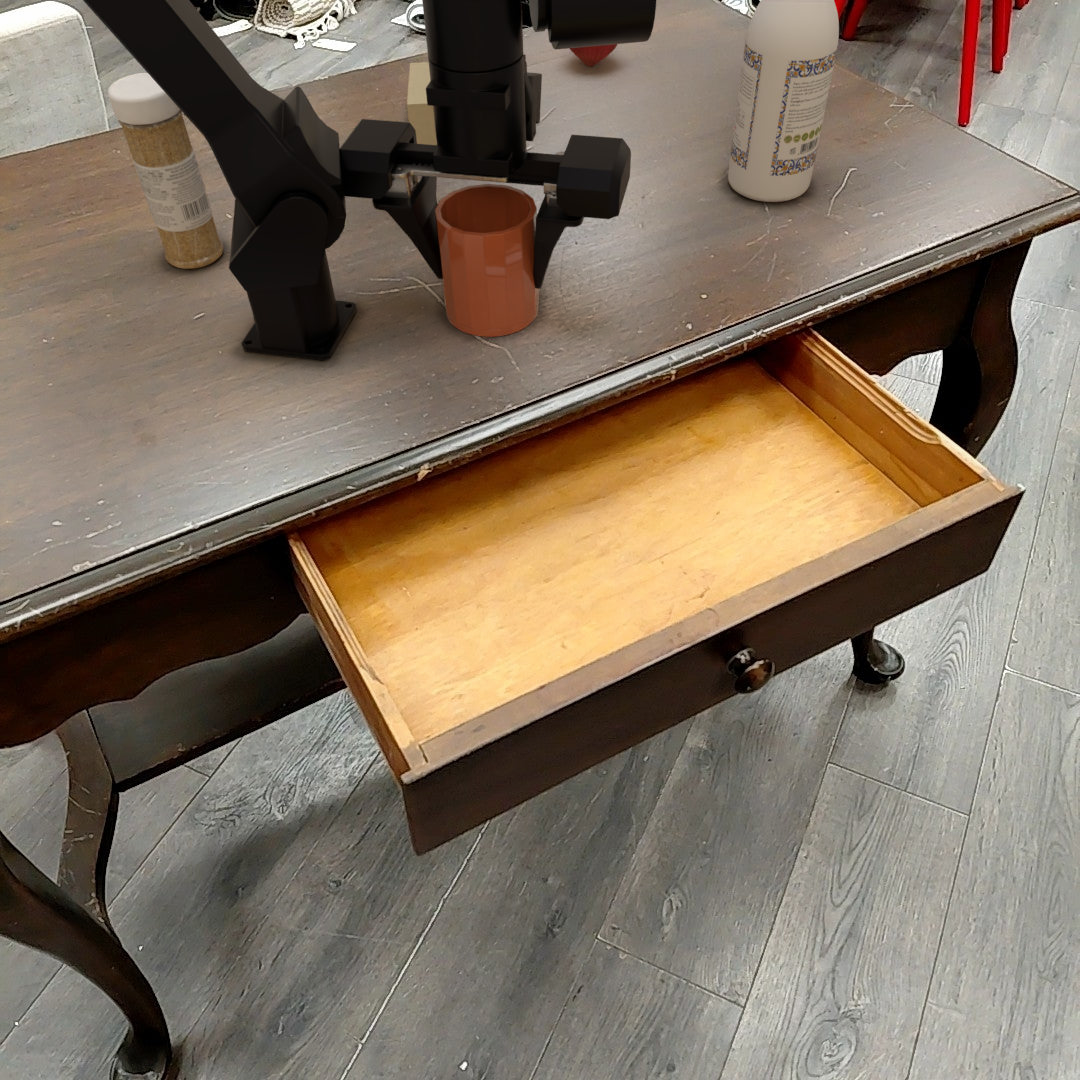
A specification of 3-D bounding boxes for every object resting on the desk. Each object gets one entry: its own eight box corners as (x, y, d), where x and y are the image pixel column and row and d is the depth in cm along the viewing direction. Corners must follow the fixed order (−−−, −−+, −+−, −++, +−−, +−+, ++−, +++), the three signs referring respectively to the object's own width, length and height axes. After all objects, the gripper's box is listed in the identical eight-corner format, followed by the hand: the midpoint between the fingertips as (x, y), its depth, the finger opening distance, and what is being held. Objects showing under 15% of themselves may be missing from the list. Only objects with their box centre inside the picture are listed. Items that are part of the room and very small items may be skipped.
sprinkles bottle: (208, 234, 79) (157, 64, 69) (234, 257, 77) (185, 84, 67) (156, 254, 77) (95, 82, 67) (181, 278, 75) (122, 103, 65)
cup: (527, 341, 68) (524, 239, 62) (435, 331, 69) (423, 230, 64) (546, 288, 73) (544, 188, 67) (459, 279, 74) (450, 180, 68)
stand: (510, 143, 89) (508, 99, 86) (412, 148, 88) (406, 104, 86) (506, 100, 95) (504, 58, 92) (414, 105, 95) (409, 62, 92)
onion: (627, 59, 101) (631, -26, 95) (607, 81, 97) (610, -6, 91) (576, 51, 103) (577, -33, 97) (554, 72, 99) (553, -14, 93)
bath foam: (821, 176, 83) (876, -91, 69) (791, 212, 80) (843, -63, 65) (746, 158, 86) (784, -104, 71) (713, 192, 82) (747, -78, 67)
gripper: (648, 12, 62) (635, 233, 73) (369, -3, 64) (399, 212, 76) (623, 85, 54) (613, 318, 66) (310, 65, 57) (353, 292, 69)
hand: (490, 280), depth 69 cm, fingers closed on cup, 7 cm apart
